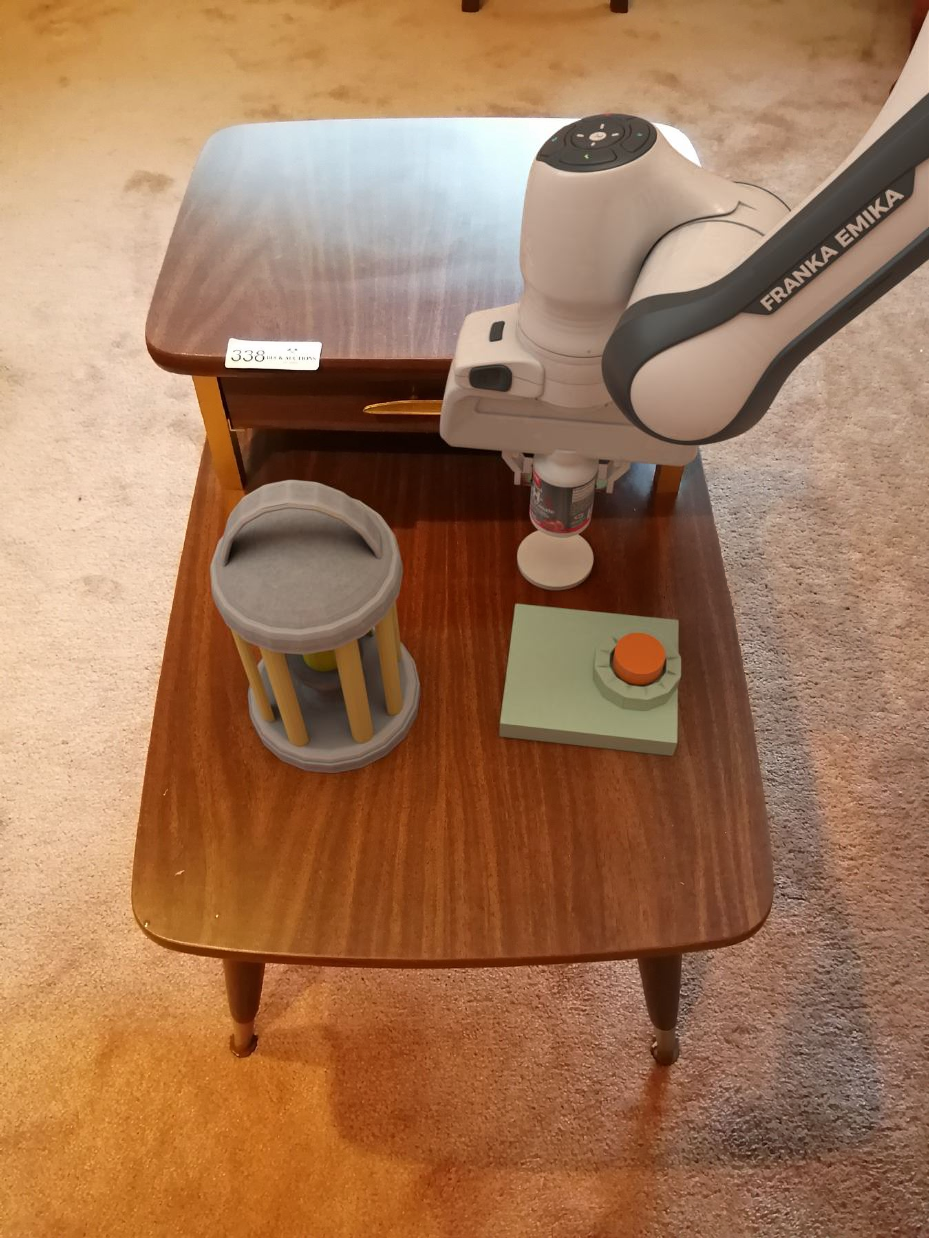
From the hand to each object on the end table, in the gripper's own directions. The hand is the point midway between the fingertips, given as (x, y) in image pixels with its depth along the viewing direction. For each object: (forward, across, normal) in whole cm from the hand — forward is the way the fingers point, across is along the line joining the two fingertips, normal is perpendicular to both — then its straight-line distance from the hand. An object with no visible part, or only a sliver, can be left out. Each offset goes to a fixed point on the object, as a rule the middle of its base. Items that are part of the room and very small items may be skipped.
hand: (562, 483), depth 83 cm
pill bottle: (+4, 0, 0) cm, 4 cm away
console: (+10, -4, +13) cm, 17 cm away
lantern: (+10, +17, +17) cm, 26 cm away
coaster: (+10, 0, 0) cm, 10 cm away
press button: (+7, -7, +13) cm, 16 cm away
